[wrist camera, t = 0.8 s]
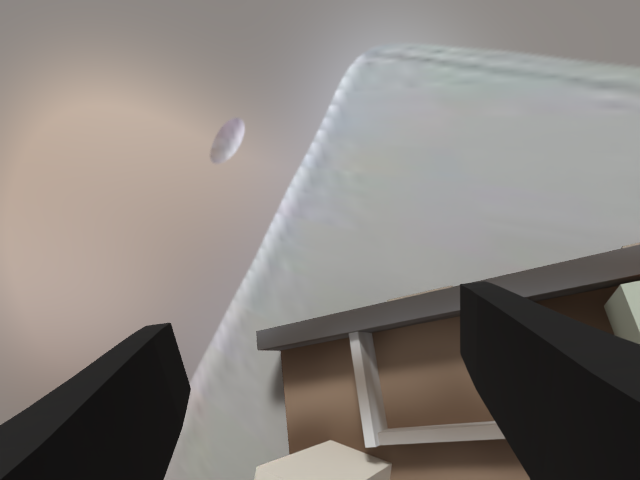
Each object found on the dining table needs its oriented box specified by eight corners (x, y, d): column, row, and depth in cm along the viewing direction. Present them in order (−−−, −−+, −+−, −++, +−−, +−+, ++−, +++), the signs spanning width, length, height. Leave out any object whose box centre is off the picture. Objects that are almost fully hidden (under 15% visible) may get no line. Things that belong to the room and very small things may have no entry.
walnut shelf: (1030, 685, 12) (1178, 789, 9) (311, 587, 24) (275, 620, 21) (771, 227, 17) (813, 202, 14) (287, 332, 29) (256, 329, 26)
